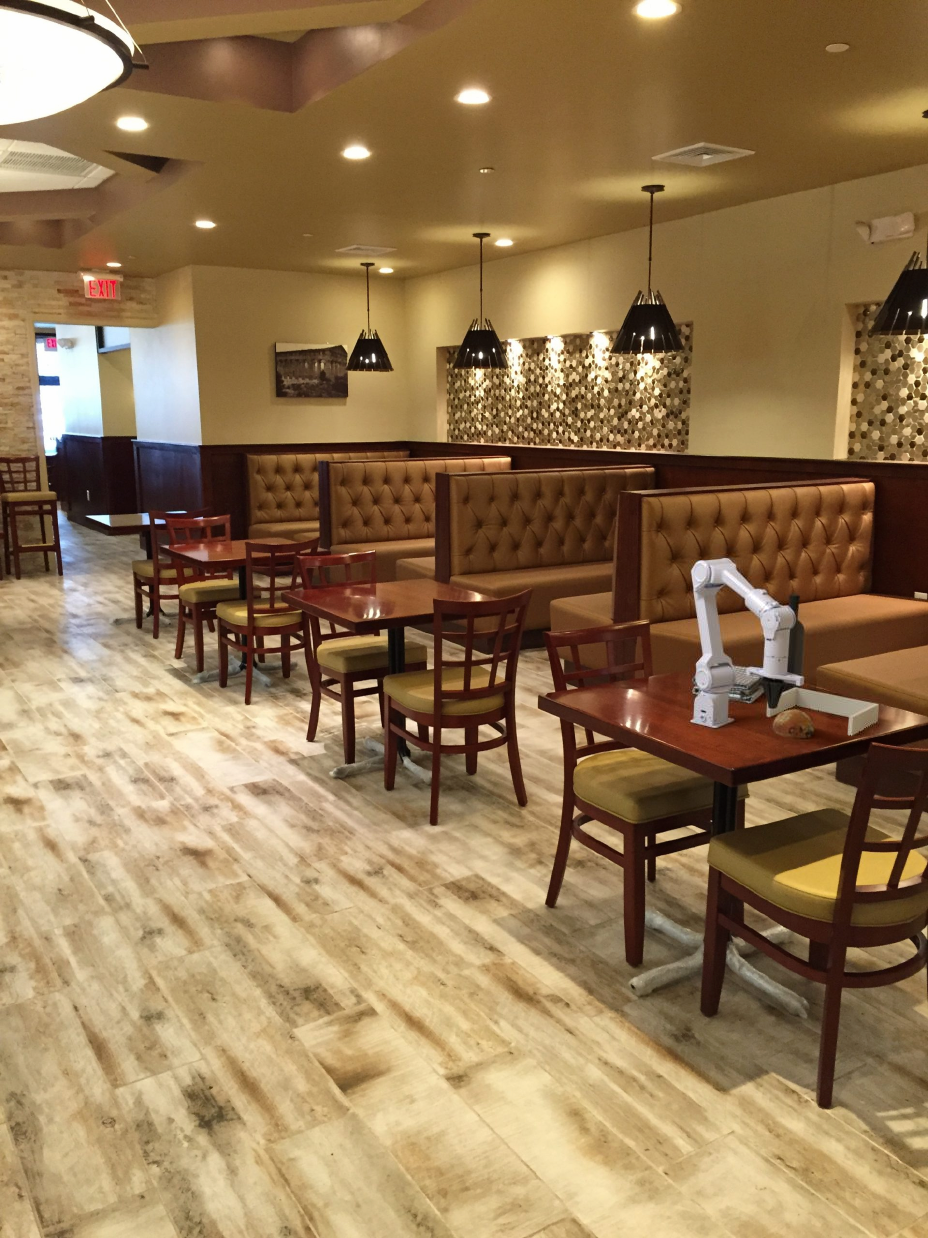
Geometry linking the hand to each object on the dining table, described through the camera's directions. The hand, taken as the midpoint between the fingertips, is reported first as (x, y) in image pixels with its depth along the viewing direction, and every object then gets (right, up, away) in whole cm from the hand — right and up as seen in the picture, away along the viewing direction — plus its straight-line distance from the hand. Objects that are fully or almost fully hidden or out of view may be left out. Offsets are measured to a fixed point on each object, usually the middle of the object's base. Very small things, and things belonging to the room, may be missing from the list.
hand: (772, 707), depth 249 cm
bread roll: (+9, -8, +10) cm, 15 cm away
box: (+20, -5, +21) cm, 30 cm away
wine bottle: (+18, 0, +45) cm, 48 cm away
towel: (+1, 0, +46) cm, 46 cm away
